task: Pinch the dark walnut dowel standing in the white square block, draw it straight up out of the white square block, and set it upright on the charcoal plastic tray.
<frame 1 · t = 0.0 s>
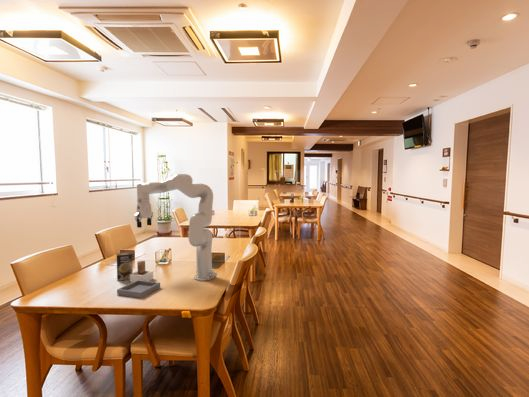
hand: (144, 226, 205), 31 cm above the table, tool pointing down, fingers open, 9 cm apart
white square block: (141, 280, 189), on the table
tray: (139, 291, 171), on the table
dowel: (141, 271, 188), in the white square block
coffee box: (125, 278, 193), on the table
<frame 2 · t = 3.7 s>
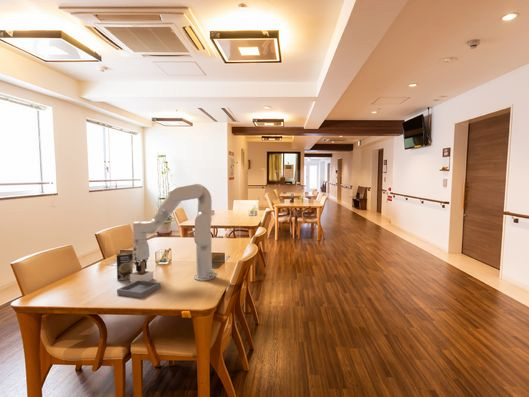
hand: (141, 269, 188), 7 cm above the table, tool pointing down, fingers closed on dowel, 4 cm apart
dowel: (141, 271, 188), in the white square block, touching gripper
everything else where it was.
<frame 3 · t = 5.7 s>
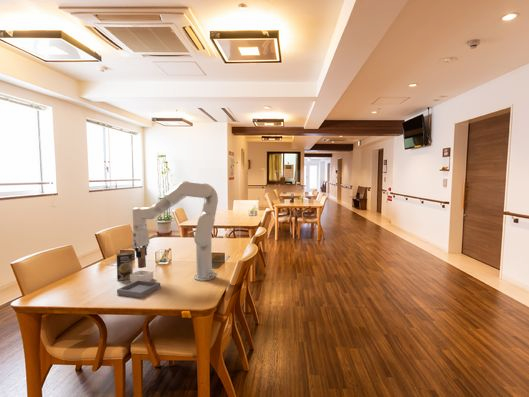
hand: (141, 256, 188), 16 cm above the table, tool pointing down, fingers closed on dowel, 4 cm apart
dowel: (141, 257, 188), point 15 cm above the table, touching gripper
everything else where it was.
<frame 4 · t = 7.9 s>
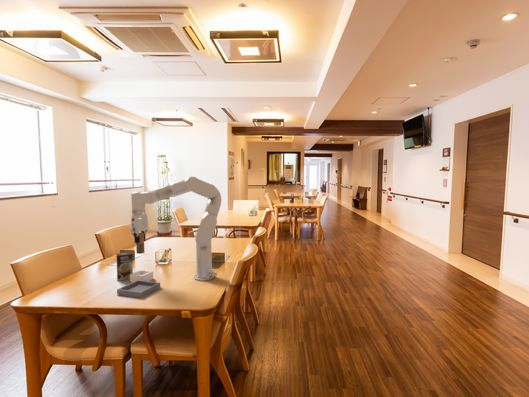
hand: (140, 241, 184), 25 cm above the table, tool pointing down, fingers closed on dowel, 4 cm apart
dowel: (140, 243, 184), point 24 cm above the table, touching gripper
everything else where it was.
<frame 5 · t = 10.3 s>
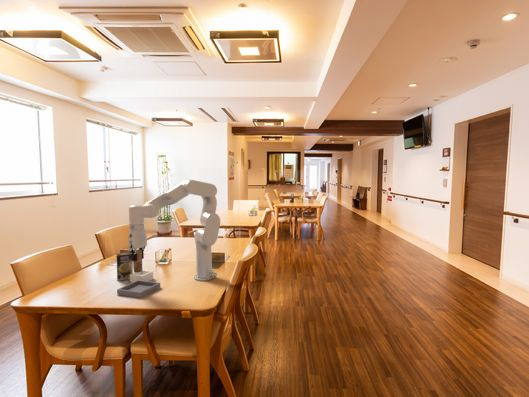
hand: (137, 259, 170), 18 cm above the table, tool pointing down, fingers closed on dowel, 4 cm apart
dowel: (137, 260, 170), point 18 cm above the table, touching gripper
everything else where it was.
when the fingers open (9 cm above the table, at t = 12.3 s): dowel drops 1 cm, resting on tray.
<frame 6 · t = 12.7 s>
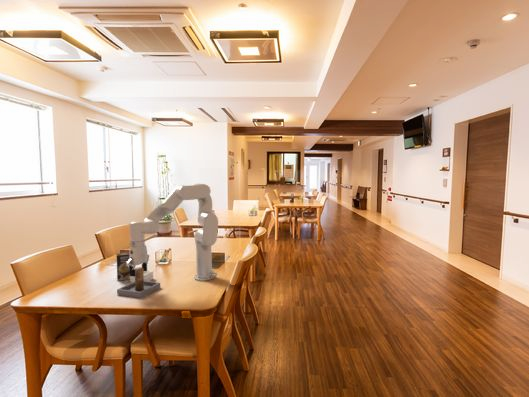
hand: (138, 273, 170), 10 cm above the table, tool pointing down, fingers open, 9 cm apart
dowel: (139, 278, 171), in the tray, point 7 cm above the table
everything else where it was.
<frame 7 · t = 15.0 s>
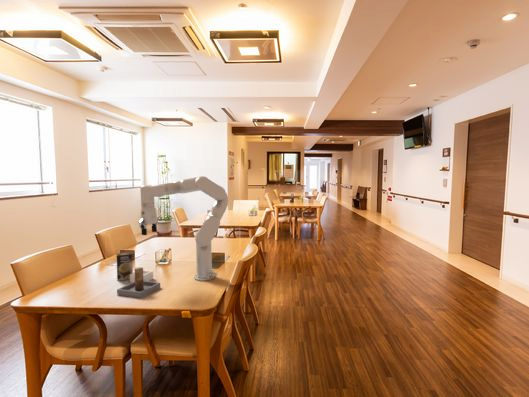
hand: (149, 233, 185), 30 cm above the table, tool pointing down, fingers open, 9 cm apart
nothing on the table moved.
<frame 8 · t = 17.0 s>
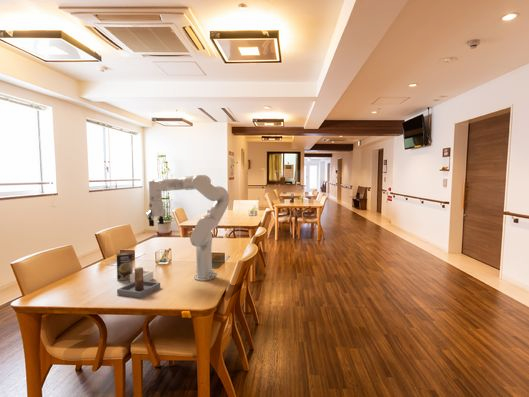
hand: (156, 224, 197), 33 cm above the table, tool pointing down, fingers open, 9 cm apart
nothing on the table moved.
at the end: dowel inside the target area on the tray (0.0 cm from its centre), point 7.0 cm above the tray's base; dowel tilted 0°; the gripper is holding nothing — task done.
